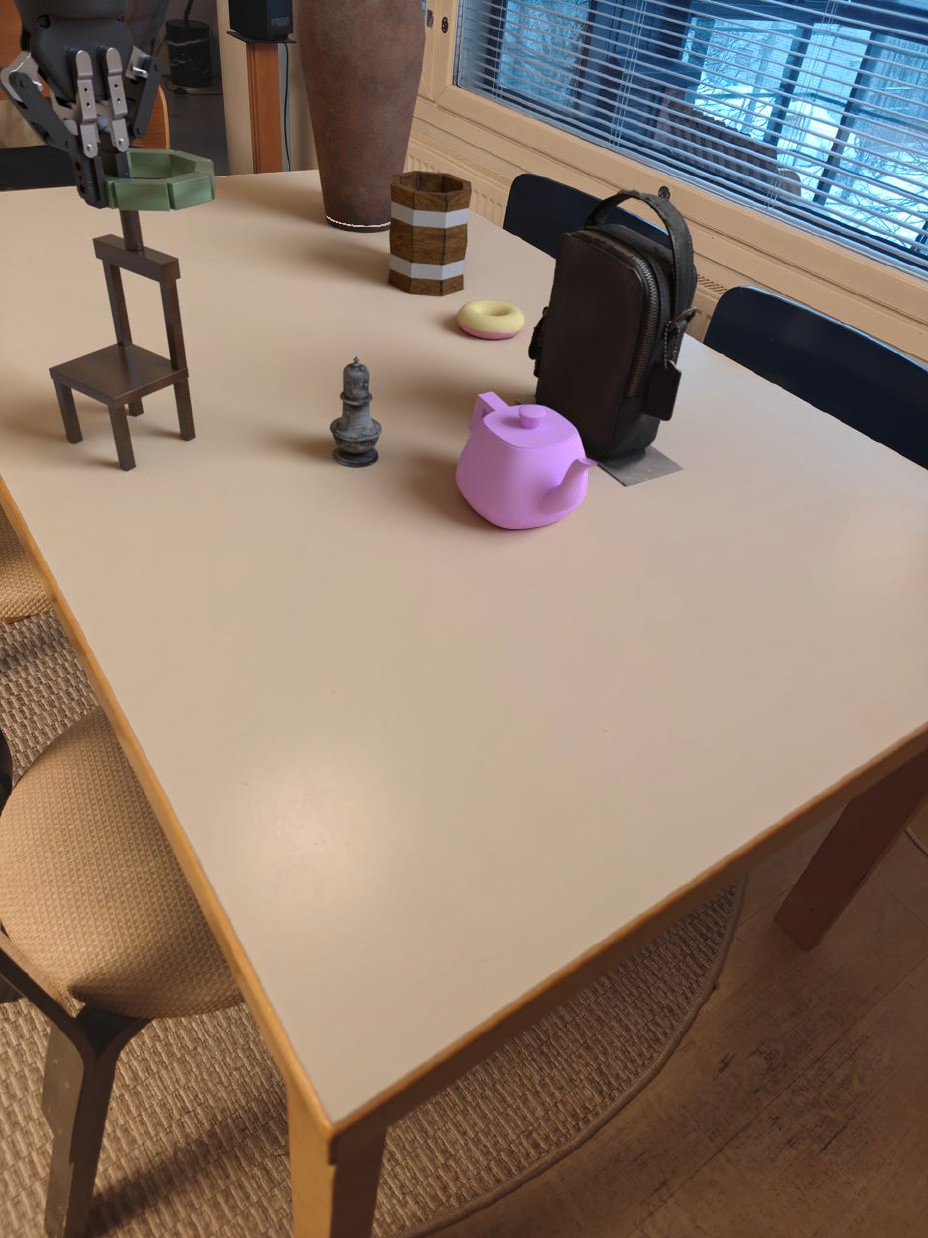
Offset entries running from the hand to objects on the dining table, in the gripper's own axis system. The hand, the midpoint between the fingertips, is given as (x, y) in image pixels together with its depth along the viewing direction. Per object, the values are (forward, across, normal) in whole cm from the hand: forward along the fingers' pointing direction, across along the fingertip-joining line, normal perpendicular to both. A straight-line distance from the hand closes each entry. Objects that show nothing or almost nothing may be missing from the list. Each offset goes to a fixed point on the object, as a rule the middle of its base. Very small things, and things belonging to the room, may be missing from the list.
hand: (107, 202), depth 69 cm
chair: (+29, -7, -13) cm, 33 cm away
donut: (+30, -63, -1) cm, 70 cm away
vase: (+30, -90, -48) cm, 106 cm away
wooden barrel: (+30, -74, -22) cm, 83 cm away
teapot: (+30, -26, +28) cm, 48 cm away
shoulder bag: (+30, -46, +26) cm, 61 cm away
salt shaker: (+30, -22, +8) cm, 38 cm away
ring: (0, -5, 0) cm, 5 cm away
